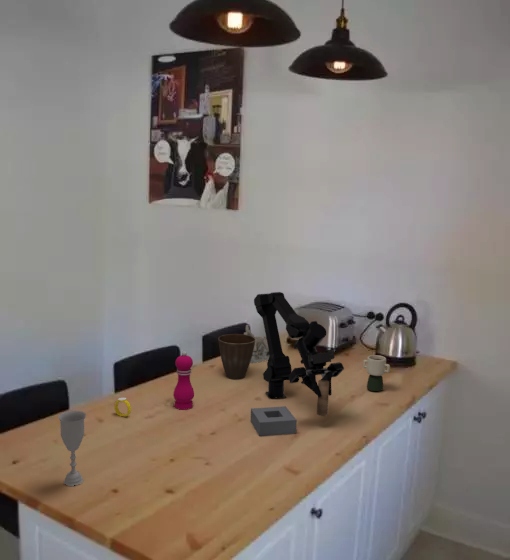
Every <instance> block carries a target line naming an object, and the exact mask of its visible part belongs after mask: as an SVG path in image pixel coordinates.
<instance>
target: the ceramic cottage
mask: <svg viewBox="0 0 510 560" xmlns="http://www.w3.org/2000/svg"><path fill="white" fill-rule="evenodd" d="M243 334H244V335H249V336H252V337H254V338H255V345H254V350H253V354H252V358H251V361H250V364H258V363H257V362H259V363H262V362H261V361H263V362H265V360H267V361H268V359H269V356H270V354H269V349H268V344H267V339H266V335H263V336H255V335H254V334H253V333H252V331H251V330H250V327H249V324H245V332H243Z"/></svg>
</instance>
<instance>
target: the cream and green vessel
mask: <svg viewBox="0 0 510 560" xmlns="http://www.w3.org/2000/svg"><path fill="white" fill-rule="evenodd" d="M362 367H363V368H364V369H366V373H367V374H368V378H367V383H366V389H368V390H369V391H372V392H376V391H377V392H379V391H383V390H384V381H383V380H384V379H383V376H384V375H385V374H387V373H388V374H389V373H390V371H391V365H390V364H388V363H387V358H386V357H385V356H383V355H375V354H373V355H368V356H367V359H363V365H362ZM386 367H387V368H386Z"/></svg>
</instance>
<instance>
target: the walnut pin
mask: <svg viewBox="0 0 510 560" xmlns="http://www.w3.org/2000/svg"><path fill="white" fill-rule="evenodd" d="M317 384H318V387H319V389H320V392H321V395H322V396H321V397H318V396H317V400H316V404H317V405H316V415H318V416H320V417H326V416H327V415H328V412H329V411H328V410H329V381H327V380H321V379H319V380H318V382H317Z"/></svg>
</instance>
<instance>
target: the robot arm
mask: <svg viewBox="0 0 510 560" xmlns="http://www.w3.org/2000/svg"><path fill="white" fill-rule="evenodd" d="M253 303H254V306H255V310H256V312H257V313H258V315H259V316H260V317H261V319H262V323H263V328H264V332H265V336H266V339H267V344H268V349H269V354H270V356H269V359H268V360H267V362H266V366H267V368H266V369H265V370H264V371H263V373H262V375H263V376H262V378H263V380H264V381H266V382H267V383H268V386H267V387H268V389H267V391H265V395H266V396H267V397H268V398H269V399H270V400H271V399H275V400H276V399H286V398H287V395H286V394H285V393H284V389H285V381H289V383H290V384H296V383H299V381H300V378H301V382H300V383H301V384H302V385H304V386H305V387H307V388H309V390H311V391H312V392H313V393H314V394H315V396H317V398H318V397H321V396H322V395H321V392H320V389H319V387H318V382H317V380H316V379H317V377H316V376H318V375H319V376H321V379H320V380H327V381H329V396H331V395H332V393H333V392H332V379H333V378H336V377H338V376H339V375H340V374H342V371H344V370H345V367H344V365H343V363H342V362H332V360H334V359H335V353H334V350H333V349H326V350H324V352H321V351H318V350H317V348H316V347H317V346H319V345H320V343H321V342H322V341H323V340H324V339H325V338H326V337H327V329H326V328H325V327H324V326H323V325H322V324H319V323H318V321H317V320H315V321H310V322H309V321H308V320H307V318H305V317H303V316H301V315H299V314H298V313H297V312H296V311H295V309H294V308H293V307H292V305H291V304H290V303H289V302H288V300H287V299H286V297H285V294H284V293H283V292H281V291H277V292H276V291H275V292H270V293H257V295H256V296H255V297H254V299H253ZM277 312H278V314H279V316H280V317H281V318H282V320H283V321H284V322H285V323H284V324H286V325H285V331H286V332H287V334H288V337H290V338H291V339H298V340H295V342H294V346H293V349H295V350H298V353H299V355H300V358H301V360H300V363H301V364H302V365H303V366H300V367H294V368H293V369H292V364H291V360H290V357H289V355H286V354H285V353H284V352H283V347H282V342H281V337H280V332H279V329H278V322H277V317H276V314H277ZM331 362H332V363H331ZM327 363H330V364H329V365H328V366H327ZM326 366H327V367H326ZM329 396H328V397H329Z"/></svg>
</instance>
